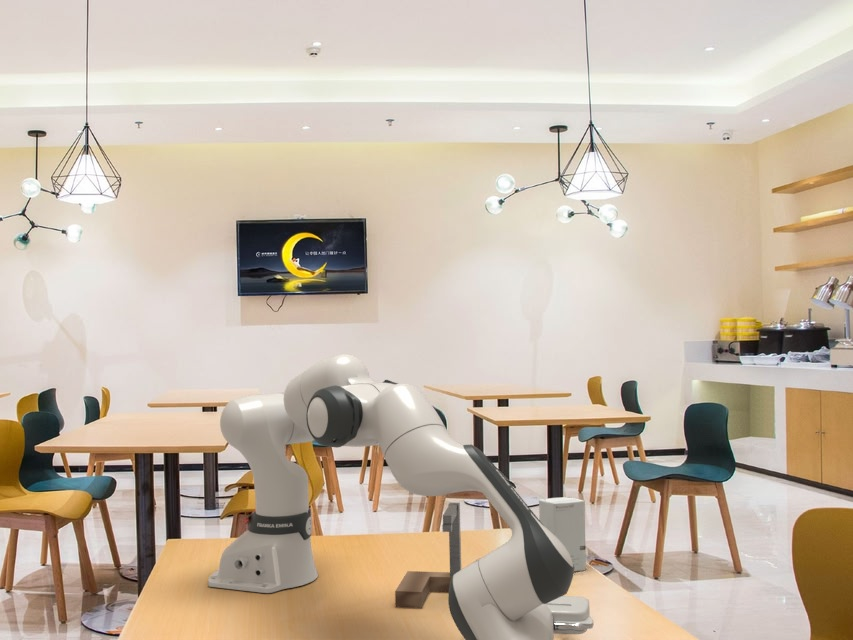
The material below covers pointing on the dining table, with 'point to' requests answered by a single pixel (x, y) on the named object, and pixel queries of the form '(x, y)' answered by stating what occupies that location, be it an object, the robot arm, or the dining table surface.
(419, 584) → the cutout shelf
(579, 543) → the skincare box
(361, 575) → the dining table surface
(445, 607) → the dining table surface
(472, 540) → the dining table surface
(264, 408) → the robot arm
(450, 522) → the hook arm
